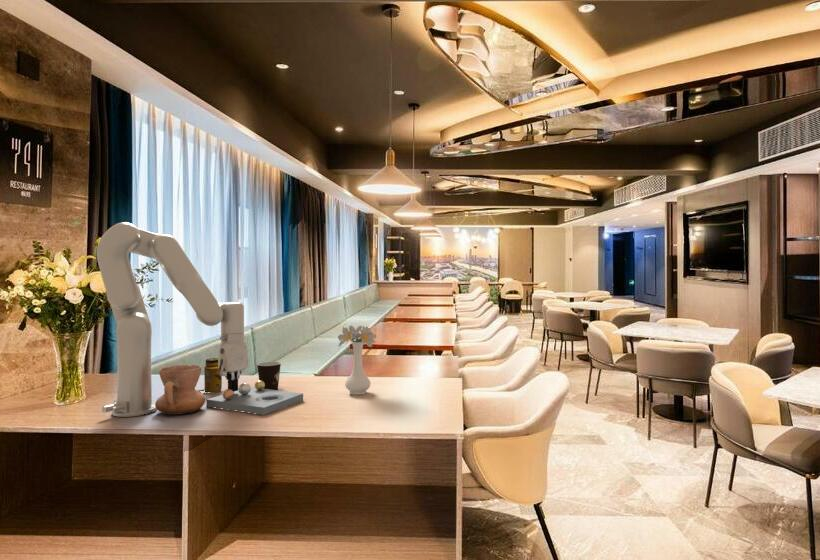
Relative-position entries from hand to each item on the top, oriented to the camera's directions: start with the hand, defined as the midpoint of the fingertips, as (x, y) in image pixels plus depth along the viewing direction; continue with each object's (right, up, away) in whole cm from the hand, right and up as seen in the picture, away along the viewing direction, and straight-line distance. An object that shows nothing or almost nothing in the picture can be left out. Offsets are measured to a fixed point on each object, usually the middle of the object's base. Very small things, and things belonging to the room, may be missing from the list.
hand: (232, 390), depth 175 cm
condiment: (-13, -4, +14) cm, 19 cm away
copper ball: (+2, +1, -9) cm, 9 cm away
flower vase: (+42, -4, +12) cm, 44 cm away
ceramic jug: (-12, -4, -14) cm, 19 cm away
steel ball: (+5, +1, -2) cm, 5 cm away
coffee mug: (+9, -3, +17) cm, 19 cm away
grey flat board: (+9, -4, -4) cm, 11 cm away
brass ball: (+8, +1, +5) cm, 9 cm away
